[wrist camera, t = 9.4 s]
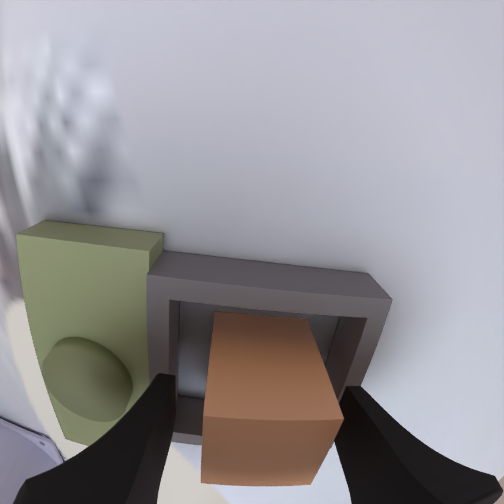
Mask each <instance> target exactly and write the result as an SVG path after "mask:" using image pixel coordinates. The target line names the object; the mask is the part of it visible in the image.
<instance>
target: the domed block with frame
mask: <svg viewBox="0 0 504 504" xmlns="http://www.w3.org/2000/svg"><path fill="white" fill-rule="evenodd" d="M163 239H164V233H155V232H146V231H137V230H128V229H119V228H110V227H101V226H91V225H82V224H73V223H63V222H54V221H42V222H40V223H38V224H36V225H34V226H32V227H30V228H27V229H25V230H23V231H21V232H19V233H17V234H16V240H17V251H18V260H19V269H20V276H21V283H22V289H23V296H24V301H25V307H26V312H27V317H28V322H29V326H30V331H31V335H32V339H33V343H34V347H35V351H36V355H37V359H38V362H39V366H40V369H41V372H42V376H43V379H44V382H45V385H46V388H47V391H48V394H49V397H50V400H51V403H52V406H53V409H54V411H55V414H56V417H57V419H58V422H59V424H60V427H61V429H62V432H63V434H64V436H65V439H67V440H71V441H74V442H77V443H80V444H84V445H87V446H90V445H91V444H93V443H94V442H95V441H97V440H98V439H99V438H100V437H102V436H103V435H104V434H105V433H106V432H107V431H109V430H110V429H111V428H112V427H113V426H114V425H115V424H116V423H117V422H118V421H119V420H120V419H121V418H122V417H123V416H124V415H125V414H126V413H127V412H128V411H129V409H130V408H131V407H132V406H133V405H134V404H135V402H136V401H137V400H138V399H139V398H140V397H141V395H142V394H143V393H144V391H145V390H146V389H147V387H148V386H149V385H150V383H151V382H152V380H153V379H154V377H155V376H156V375H157V374H158V373H163V374H169V375H176V416H175V423H174V430H173V436H172V440H171V441H172V442H179V443H186V444H194V445H202V430H203V412H204V402H205V400H203V399H195V398H187V397H180V396H178V340H179V309H180V301H185V302H193V303H201V304H210V305H218V306H227V307H237V308H246V309H256V310H267V311H278V312H290V313H302V314H315V315H330V316H340V318H339V322H338V325H337V329H336V332H335V335H334V339H333V342H332V345H331V348H330V352H329V355H328V358H327V361H326V364H325V368H326V371H327V373H328V376H329V379H330V382H331V384H332V387H333V390H334V393H335V395H336V398H337V401H338V404H339V402H340V400H341V397H342V395H343V392H344V390H345V387H346V386H361V383H362V381H363V379H364V376H365V374H366V371H367V369H368V366H369V364H370V361H371V359H372V356H373V354H374V351H375V349H376V346H377V343H378V341H379V338H380V335H381V332H382V329H383V327H384V324H385V321H386V318H387V315H388V312H389V309H390V306H391V303H392V300H393V299H392V298H391V297H390V296H389V295H388V294H387V293H386V292H385V291H384V290H383V288H382V287H381V286H380V285H379V284H378V283H377V282H376V281H375V280H374V279H373V278H372V277H371V276H370V275H369V274H367V273H358V272H349V271H339V270H330V269H321V268H312V267H303V266H294V265H285V264H276V263H267V262H258V261H249V260H240V259H232V258H223V257H214V256H206V255H197V254H189V253H180V252H172V251H163ZM333 443H334V441H333ZM333 443H332V445H333ZM332 445H331V447H332ZM331 447H330V448H331Z"/></svg>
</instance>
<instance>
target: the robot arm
mask: <svg viewBox="0 0 504 504" xmlns="http://www.w3.org/2000/svg"><path fill="white" fill-rule="evenodd" d="M339 406H340V409H341V412H342V415H343V417H344V420H343V422H342V424H341V426H340V429H339V431H338V433H337V435H336V437H335V439H334V442H335V445H336V449H337V452H338V455H339V459H340V462H341V465H342V468H343V471H344V475H345V478H346V481H347V484H348V488H349V492H350V497H351V503H352V504H493V503H495V501H497V500H498V498H499V497H500V496H501V495H502V493H503V489H502V488H501V486H500V484H499V482H498V481H497V479H496V477H495V476H494V475H490V474H487V473H483V472H480V471H477V470H474V469H471V468H469V467H466V466H464V465H461V464H459V463H457V462H455V461H453V460H451V459H449V458H447V457H445V456H443V455H441V454H440V453H438V452H436V451H435V450H433V449H431V448H430V447H429V446H427V445H426V444H424V443H423V442H421V441H420V440H419V439H417V438H416V437H415V436H413V435H412V434H411V433H410V432H408V431H407V430H406V429H405V428H404V427H402V426H401V425H400V424H399V423H398V422H397V421H396V420H395V419H394V418H393V417H392V416H390V415H389V414H388V413H387V412H386V411H385V410H384V409H383V408H382V407H381V406H380V405H379V404H378V403H377V402H376V401H375V400H374V399H373V398H372V397H371V396H370V395H369V394H368V393H367V392H366V391H365V390H364V389H363V388H362V387H361V386H346V387H345V390H344V392H343V395H342V397H341V400H340V402H339ZM175 416H176V375H169V374H163V373H158V374H157V375H156V376H155V377H154V379H153V380H152V382H151V383H150V385H149V386H148V387H147V389H146V390H145V391H144V393H143V394H142V395H141V397H140V398H139V399H138V400H137V401H136V402H135V404H134V405H133V406H132V407H131V408H130V409H129V411H128V412H127V413H126V414H125V415H124V416H123V417H122V418H121V419H120V420H119V421H118V422H117V423H116V424H115V425H114V426H113V427H112V428H111V429H110V430H109V431H107V432H106V433H105V434H104V435H103V436H102V437H100V438H99V439H98V440H97V441H95V442H94V443H93V444H91V445H90V446H89V447H87V448H86V449H84V450H83V451H82V452H80V453H79V454H77V455H76V456H74V457H72V458H70V459H69V460H67V461H65V462H63V460H62V458H61V456H60V454H59V452H58V450H57V448H56V446H55V444H54V442H53V441H51V440H50V439H48V438H45V437H43V436H40V435H38V434H35V433H33V432H30V431H28V430H25V429H23V428H21V427H18V426H16V425H14V424H11V423H9V422H7V421H5V420H3V419H1V418H0V504H157V498H158V491H159V486H160V481H161V477H162V474H163V470H164V466H165V462H166V459H167V455H168V451H169V447H170V444H171V440H172V436H173V430H174V423H175Z"/></svg>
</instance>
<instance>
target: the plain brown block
mask: <svg viewBox="0 0 504 504" xmlns="http://www.w3.org/2000/svg"><path fill="white" fill-rule="evenodd" d="M343 420H344V417H343V415H342V412H341V409H340V406H339V404H338V401H337V398H336V395H335V393H334V390H333V387H332V384H331V382H330V379H329V376H328V373H327V371H326V368H325V365H324V363H323V360H322V357H321V355H320V352H319V349H318V347H317V344H316V341H315V339H314V336H313V333H312V331H311V328H310V326H309V323H308V320H307V319H300V318H286V317H273V316H261V315H249V314H239V313H228V312H218V311H215V315H214V323H213V332H212V340H211V348H210V357H209V366H208V375H207V384H206V393H205V402H204V412H203V430H202V457H201V483H207V484H219V485H236V486H295V485H310V484H311V483H312V481H313V479H314V477H315V476H316V474H317V472H318V470H319V468H320V466H321V464H322V463H323V461H324V459H325V457H326V455H327V453H328V451H329V449H330V447H331V445H332V443H333V441H334V439H335V437H336V435H337V433H338V431H339V429H340V426H341V424H342V422H343Z"/></svg>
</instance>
